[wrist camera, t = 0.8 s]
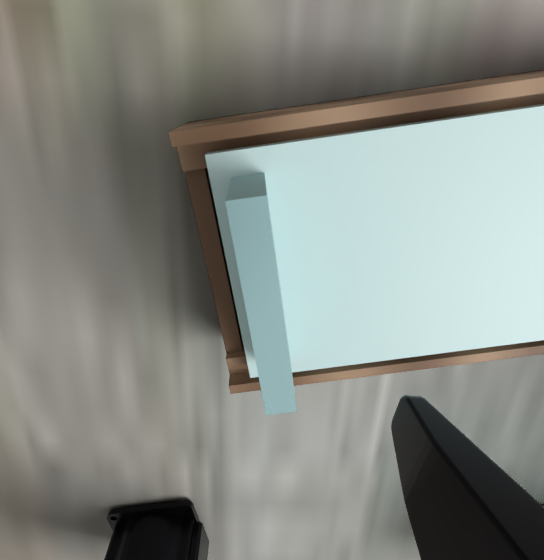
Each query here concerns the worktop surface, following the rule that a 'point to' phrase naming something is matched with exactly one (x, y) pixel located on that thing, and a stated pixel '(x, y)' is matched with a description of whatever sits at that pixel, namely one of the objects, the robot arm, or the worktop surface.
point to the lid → (384, 243)
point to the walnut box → (319, 122)
